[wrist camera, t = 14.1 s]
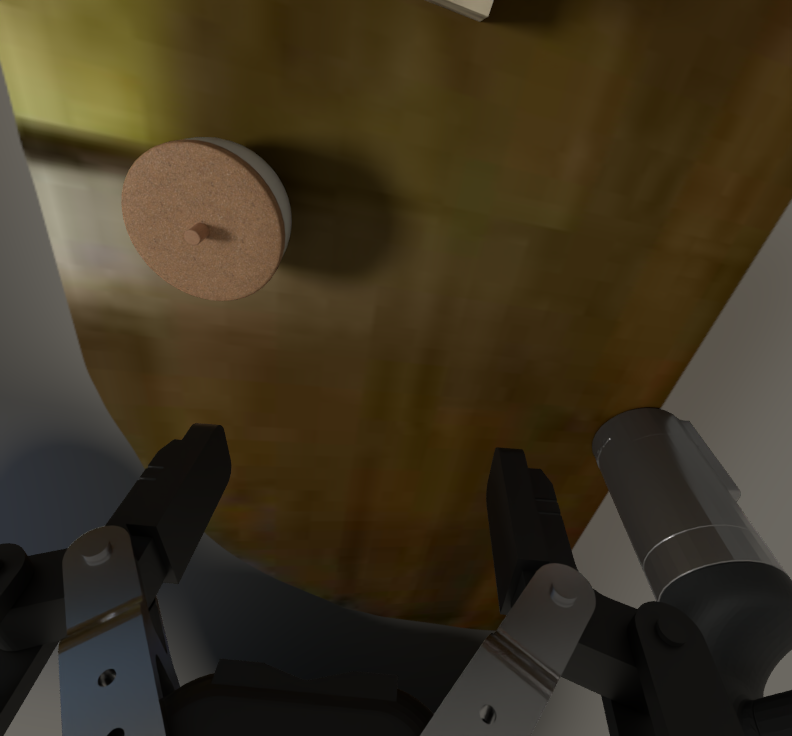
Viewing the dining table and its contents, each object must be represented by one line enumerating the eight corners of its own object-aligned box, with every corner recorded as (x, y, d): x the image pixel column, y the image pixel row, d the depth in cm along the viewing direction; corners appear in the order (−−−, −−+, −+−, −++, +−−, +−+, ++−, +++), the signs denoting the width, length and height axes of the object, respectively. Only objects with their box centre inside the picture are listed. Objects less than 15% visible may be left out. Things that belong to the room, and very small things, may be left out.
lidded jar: (284, 281, 41) (252, 334, 33) (164, 230, 39) (99, 274, 31) (324, 165, 35) (297, 196, 27) (185, 97, 33) (113, 110, 25)
